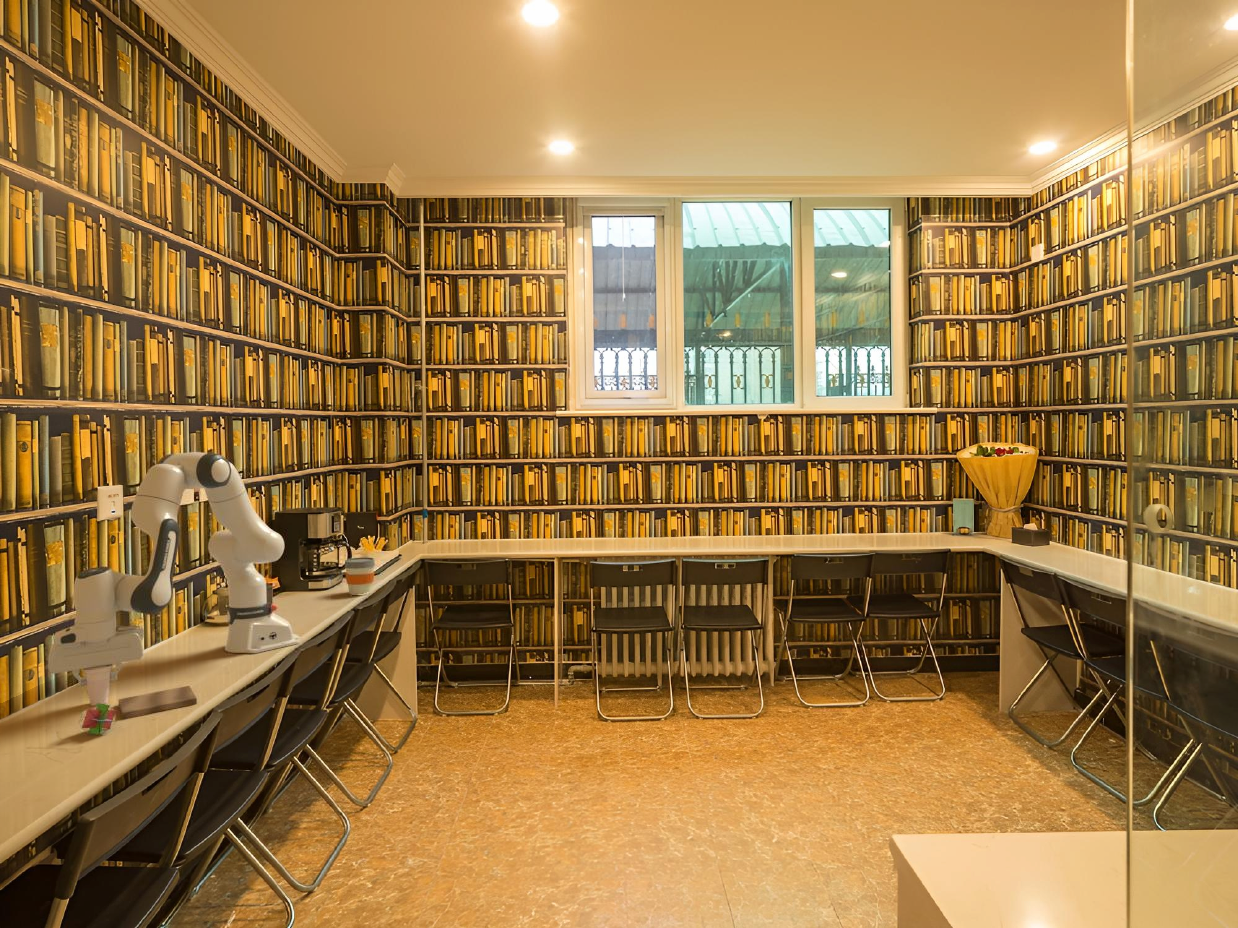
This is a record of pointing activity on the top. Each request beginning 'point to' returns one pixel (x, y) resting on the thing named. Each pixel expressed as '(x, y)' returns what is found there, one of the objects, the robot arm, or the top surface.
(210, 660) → the top surface
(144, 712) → the serving board
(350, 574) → the reusable coffee cup
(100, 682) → the smoothie
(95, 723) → the geometric puzzle
